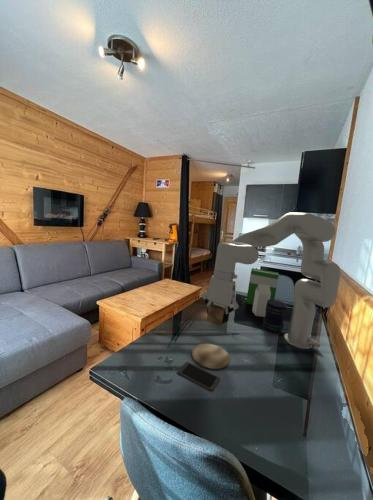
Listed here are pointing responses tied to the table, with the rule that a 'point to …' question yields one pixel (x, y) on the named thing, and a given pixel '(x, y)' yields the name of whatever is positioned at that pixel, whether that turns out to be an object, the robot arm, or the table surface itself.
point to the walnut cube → (215, 314)
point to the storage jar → (274, 316)
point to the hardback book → (261, 283)
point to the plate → (210, 356)
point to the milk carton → (261, 300)
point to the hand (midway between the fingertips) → (217, 318)
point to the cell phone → (199, 376)
